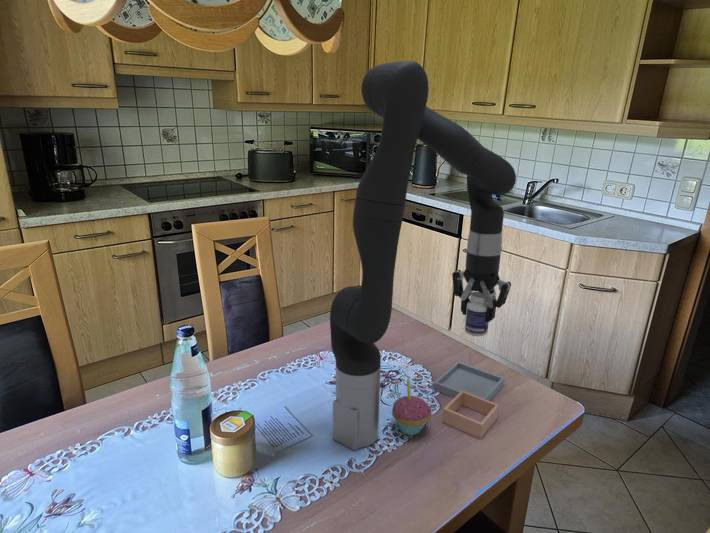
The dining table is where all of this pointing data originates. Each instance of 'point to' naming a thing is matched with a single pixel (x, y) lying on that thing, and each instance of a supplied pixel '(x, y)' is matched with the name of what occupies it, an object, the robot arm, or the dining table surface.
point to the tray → (468, 382)
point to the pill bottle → (476, 315)
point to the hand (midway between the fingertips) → (477, 316)
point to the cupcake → (411, 413)
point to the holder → (465, 422)
